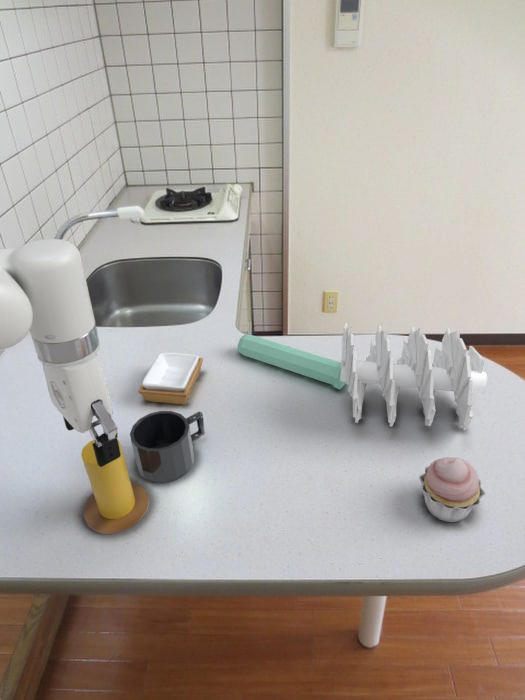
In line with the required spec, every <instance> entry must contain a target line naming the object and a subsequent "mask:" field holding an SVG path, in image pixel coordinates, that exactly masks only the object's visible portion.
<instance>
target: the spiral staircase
mask: <svg viewBox="0 0 525 700" xmlns="http://www.w3.org/2000/svg"><path fill="white" fill-rule="evenodd" d="M382 329H383V328H382V325H380V324H379V325H378V327H377V330H376V333H375V340H373V339H372V340H370V347H369V354H368V356H367V357H365V360H357V350H354V348H355V338H354V333H352V330H353V329H352V327H351V326H349V327H348V323H347V322H346V323H344V326H343V331H342V343H341V358H340V359H341V360H340V362H341V375H340V381H341V382H346V383H345V385H347V393H349V396H350V397H351V399H352V418H354V422H355V424H358V423H359V421H360V420H361V419H362V413H363V404H364V399H365V395H366V390H367V385H377V386H380V389H381V390H382V394H381V395H382V397H383V399H384V400H385V402H386V412H387V414H386V415H387V421H388V423H389V427H393V426H394V423H395V422H396V418H397V401H398V394H399V391H400V389H401V388H410V389H417V390H418V396H419V399H420V401H421V404H422V407H423V411H422V413H423V415H424V426H427V427H431V426H432V423H433V422H434V417H435V415H436V410H437V409H436V404H435V397H434V394H435V391H445V392H453V395H454V397H453V398H454V399H453V400H454V401H453V402H455V403H456V405H457V406H456V410H455V413H456V415H457V417H458V428H462V431H468V427H469V425H470V423H471V421H472V419H473V417H474V416H473V410H472V407H473V403H472V394H477V395H478V394H479V395H484V394H485V393H486V391H487V387H488V375H487V372H486V371H485V370H483V369H484V363H485V358H484V357H483V356H482V355H481V354H480V353H479V352H478V350H477V349H476V348H475V347H474V346H473V345H469V347H468V349H467V346H466V344H465V342H464V340H463V338H462V337H461V336H460V335H461V331H454V332H452V331H451V327H447V328H446V330H445V332H444V335H443V337H442V339H441V348H442V349H441V348H440V347H439V346H435V347H434V354H433V358H432V350H431V349H429V342H428V339H427V336H426V334H424V333H423V329H424V328H423V327H419V328H418V329H416V326H411V328H410V332H409V334H408V338H407V339H404V340H403V344H402V350H401V357H400V358H398V359H397V362H396V363H394V356H391V353H392V352H391V351H392V349H391V343H390V342H391V341H390V337H388V331H387V330H382ZM467 351H468V353H467ZM432 360H433V361H432Z"/></svg>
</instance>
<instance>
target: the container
mask: <svg viewBox="0 0 525 700" xmlns="http://www.w3.org/2000/svg"><path fill="white" fill-rule="evenodd" d="M237 351H238V353H239V354H241V355H242V356H244V357H246V358H250V359H253V360H256V361H260V362H262V363H265V364H268V365H271V366H273V367H277V368H280V369H283V370H286V371H290V372H292V373H294V374H297V375H298V374H299V375H301V376H304V377H307V378H310V379H313V380H316V381H320V382H322V383H325V384H329V385H331V386H332V387H333V388H335V389H337V390H338V391H339V390H342V389H343V387H344V386H345V385H346V382H341V381H340V375H341V361H337V360H334V359H331V358H328V357H324V356H322V355H318V354H314V353H311V352H307V351H305V350H301V349H298V348H295V347H291V346H288V345H285V344H282V343H279V342H275V341H272V340H268V339H266V338H263V337H259V336H255V335H252V334H248V333H247V334H243V335H242V336H241V337H240V338H239V340H238V343H237Z"/></svg>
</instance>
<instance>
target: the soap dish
mask: <svg viewBox="0 0 525 700" xmlns="http://www.w3.org/2000/svg"><path fill="white" fill-rule="evenodd" d="M203 362H204V358H203V357H200V355H198V354H195V353H194V354H192V353H181V352H171V351H169V352H168V351H165V352H164V351H163V352H160V353H159V354H158V355H157V357H156V358H155V360H154V362H153V363H152V365H151V366H150V368H149V369H148V371H147V373H146V375H145V376H144V378H143V380H142V381H141V385H140V386H139V389H138V390H137V392H138V393H139V394H140V395H141V396H142V398H144V400H146V402H153V403H162V404H174V405H186V403H187V401H188V399H189V397H190V394H191V392H192V390H193V388H194V386H195V384H196V381H197V379H198V377H199V375H200V373H201V368H202V365H203Z"/></svg>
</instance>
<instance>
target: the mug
mask: <svg viewBox="0 0 525 700" xmlns="http://www.w3.org/2000/svg"><path fill="white" fill-rule="evenodd" d="M195 422H196V426H197V430H196V431H195V432H193V433H192V432H191V428H190V425H191V424H193V423H195ZM191 433H192V434H191ZM205 434H206V430H205V422H204V415H203V412H202V411H196V412H195V413H193V414H191V415H189V416H188V417H185V416H184V415H182V414H181V413H179V412H176V411H172V410H159V411H153V412H150V413H147V414H146V415H144V416H142V417H140V418H139V419H138V420H137V421H136V422H135V423H134V424H133V425H132V427H131V429H130V432H129V437H130V442H131V443H130V444H131V446H132V450H133V455H134V460H135V462H136V467H137V470H138V473H139V475H140V476H141V477H142V478H143V479H144V480H146V481H148V482H151V483H155V484H168V483H172V482H175V481H178V480H180V479H182V478H183V477H184V476H186V475H188V473H189V472H190V471H191V469H192V467H193V466H194V462H195V454H194V447H193V446H194V445H193V442H195V441H196V440H198V439H200V438H202V437H203V436H205Z"/></svg>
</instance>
